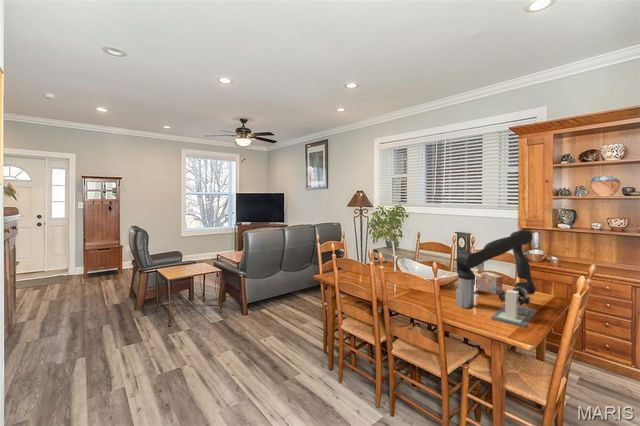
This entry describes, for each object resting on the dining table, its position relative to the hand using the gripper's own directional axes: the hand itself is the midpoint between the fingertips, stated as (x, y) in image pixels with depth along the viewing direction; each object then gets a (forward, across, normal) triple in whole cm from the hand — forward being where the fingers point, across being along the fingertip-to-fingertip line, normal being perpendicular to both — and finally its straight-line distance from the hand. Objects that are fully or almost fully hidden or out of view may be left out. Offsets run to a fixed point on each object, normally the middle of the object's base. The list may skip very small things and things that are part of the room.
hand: (510, 301), depth 170 cm
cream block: (-2, 0, +9) cm, 9 cm away
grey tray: (-9, 0, +11) cm, 14 cm away
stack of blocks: (-50, -27, +11) cm, 58 cm away
